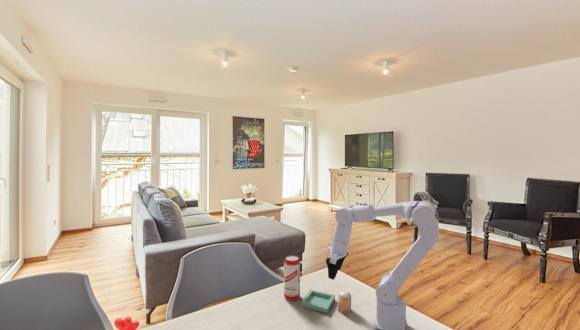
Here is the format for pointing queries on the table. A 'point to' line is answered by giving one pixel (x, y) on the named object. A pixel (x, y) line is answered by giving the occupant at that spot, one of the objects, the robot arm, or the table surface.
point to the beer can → (292, 278)
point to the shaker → (344, 302)
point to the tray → (318, 301)
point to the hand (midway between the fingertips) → (334, 273)
